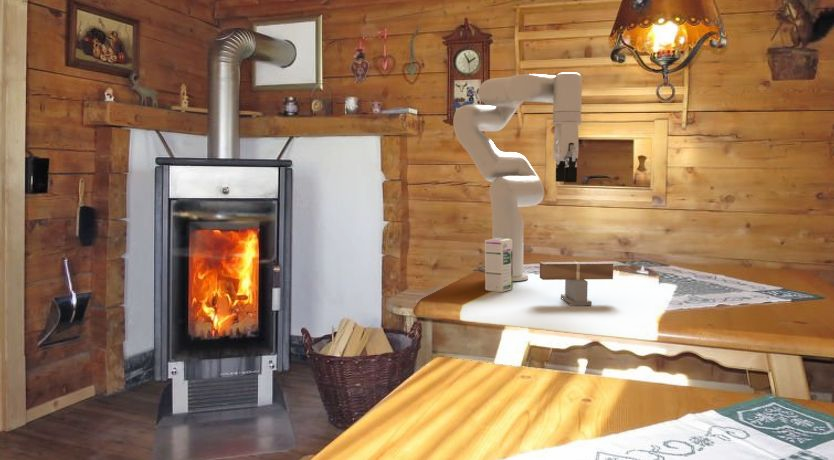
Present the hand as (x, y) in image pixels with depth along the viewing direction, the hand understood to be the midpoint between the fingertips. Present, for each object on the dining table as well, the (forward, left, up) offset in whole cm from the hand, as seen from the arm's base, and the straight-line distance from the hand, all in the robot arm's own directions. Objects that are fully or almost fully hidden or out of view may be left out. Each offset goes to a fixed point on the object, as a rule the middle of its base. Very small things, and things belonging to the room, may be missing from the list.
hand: (565, 181), depth 195 cm
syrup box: (-2, -18, -31) cm, 35 cm away
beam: (+16, -1, -24) cm, 29 cm away
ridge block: (+16, -1, -30) cm, 34 cm away
